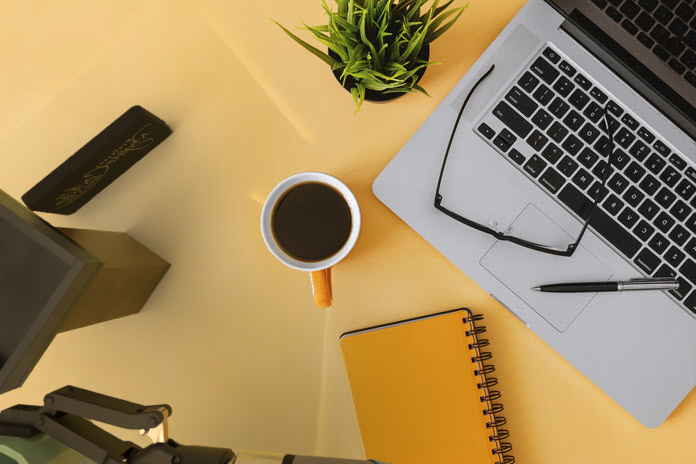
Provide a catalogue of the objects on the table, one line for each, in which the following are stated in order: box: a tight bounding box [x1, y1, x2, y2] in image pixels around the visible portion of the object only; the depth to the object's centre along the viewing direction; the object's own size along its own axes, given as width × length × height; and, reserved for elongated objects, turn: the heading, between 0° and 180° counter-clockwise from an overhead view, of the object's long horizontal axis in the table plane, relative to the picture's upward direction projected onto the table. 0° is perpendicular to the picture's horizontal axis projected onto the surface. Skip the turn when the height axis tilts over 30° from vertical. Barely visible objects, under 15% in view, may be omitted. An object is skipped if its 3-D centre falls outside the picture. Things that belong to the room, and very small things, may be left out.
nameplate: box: [20, 104, 173, 216], centre depth 71 cm, size 21×2×10 cm, turn 129°
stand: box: [54, 226, 172, 335], centre depth 62 cm, size 9×9×26 cm
